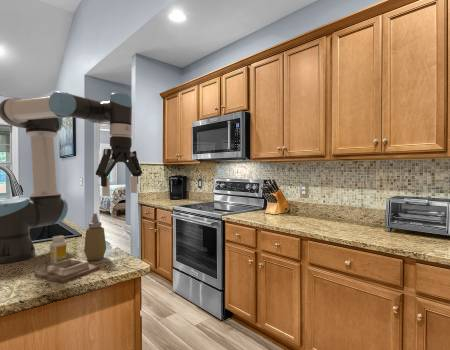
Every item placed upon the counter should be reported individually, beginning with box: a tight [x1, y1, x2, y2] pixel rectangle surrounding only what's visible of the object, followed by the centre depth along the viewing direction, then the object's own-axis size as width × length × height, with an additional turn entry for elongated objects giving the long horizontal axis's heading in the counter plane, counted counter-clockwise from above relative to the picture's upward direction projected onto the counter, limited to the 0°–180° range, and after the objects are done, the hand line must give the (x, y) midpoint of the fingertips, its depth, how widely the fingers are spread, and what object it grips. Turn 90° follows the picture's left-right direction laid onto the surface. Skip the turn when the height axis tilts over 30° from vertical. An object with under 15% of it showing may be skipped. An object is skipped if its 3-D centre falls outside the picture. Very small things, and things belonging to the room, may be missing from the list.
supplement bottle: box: [49, 235, 67, 264], centre depth 108 cm, size 5×5×10 cm
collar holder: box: [34, 257, 101, 284], centre depth 97 cm, size 14×14×3 cm
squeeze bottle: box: [83, 212, 107, 261], centre depth 111 cm, size 8×8×18 cm
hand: (120, 194), depth 104 cm, fingers open, 13 cm apart
